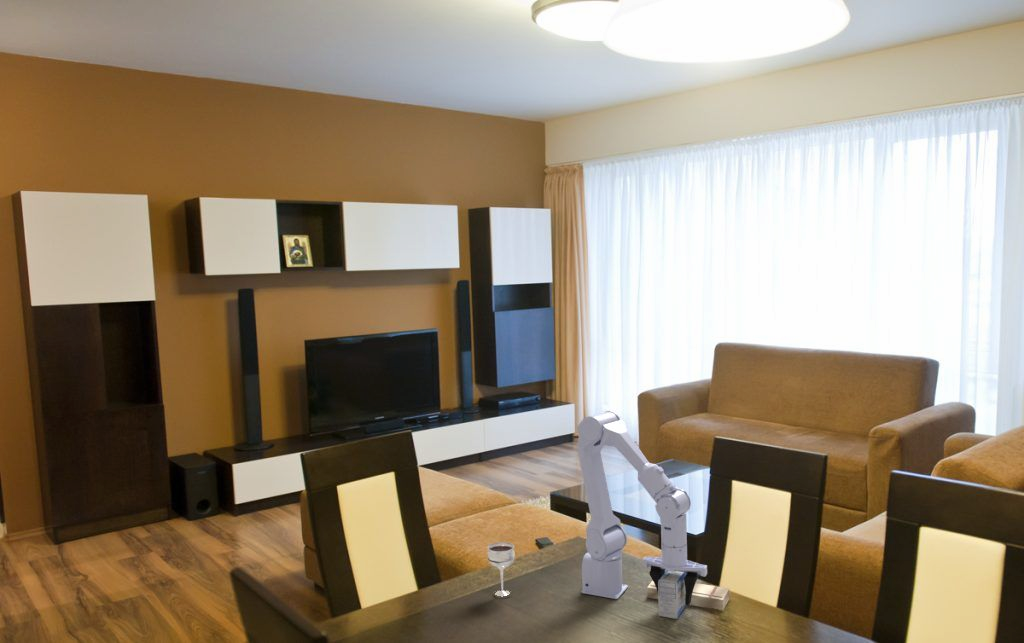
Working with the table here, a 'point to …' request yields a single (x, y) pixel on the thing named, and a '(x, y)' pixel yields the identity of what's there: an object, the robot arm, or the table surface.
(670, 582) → the medicine box
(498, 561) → the wineglass
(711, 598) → the cream striped flat box
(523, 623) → the table surface
